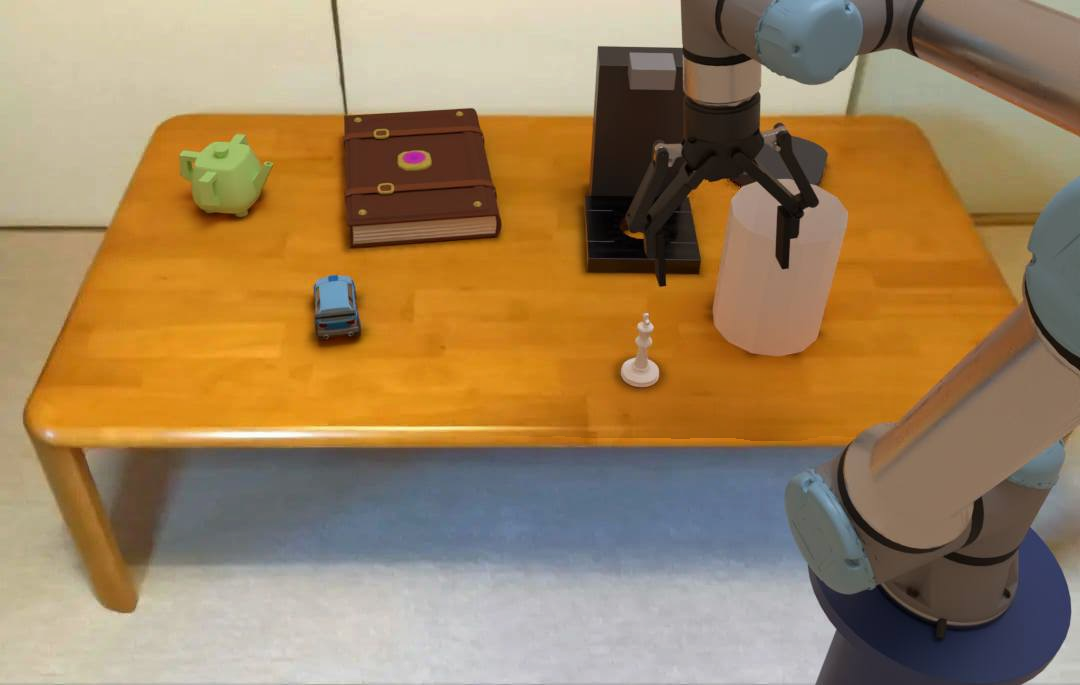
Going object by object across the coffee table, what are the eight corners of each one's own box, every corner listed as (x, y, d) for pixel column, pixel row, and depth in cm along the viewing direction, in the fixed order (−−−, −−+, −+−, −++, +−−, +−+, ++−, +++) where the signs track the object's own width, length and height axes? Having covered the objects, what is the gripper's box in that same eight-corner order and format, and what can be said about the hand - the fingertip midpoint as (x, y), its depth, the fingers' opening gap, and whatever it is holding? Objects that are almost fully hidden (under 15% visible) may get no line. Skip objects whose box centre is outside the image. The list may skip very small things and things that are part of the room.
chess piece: (653, 359, 132) (661, 299, 125) (663, 385, 128) (672, 325, 122) (616, 363, 131) (622, 303, 125) (625, 389, 128) (631, 329, 121)
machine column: (684, 229, 154) (706, 70, 137) (591, 227, 154) (601, 68, 136) (676, 189, 162) (696, 34, 145) (589, 187, 162) (598, 32, 145)
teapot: (210, 233, 151) (197, 176, 144) (181, 197, 158) (167, 141, 151) (284, 208, 156) (274, 152, 150) (253, 174, 163) (242, 119, 156)
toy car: (356, 288, 142) (352, 255, 138) (363, 345, 133) (358, 311, 129) (313, 293, 141) (308, 260, 137) (317, 350, 132) (311, 317, 128)
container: (693, 302, 141) (710, 192, 129) (780, 277, 146) (804, 169, 134) (750, 367, 131) (774, 255, 119) (841, 338, 136) (873, 228, 124)
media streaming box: (742, 140, 174) (745, 124, 172) (828, 157, 170) (832, 142, 168) (722, 183, 164) (725, 167, 162) (813, 203, 160) (817, 187, 158)
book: (348, 248, 149) (345, 220, 145) (345, 138, 172) (342, 111, 168) (503, 237, 152) (502, 209, 148) (479, 129, 175) (478, 103, 171)
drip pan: (698, 274, 146) (701, 260, 144) (587, 272, 146) (588, 258, 144) (687, 210, 158) (688, 196, 156) (583, 208, 157) (584, 195, 156)
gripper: (835, 59, 103) (821, 237, 116) (590, 93, 103) (605, 268, 116) (860, 89, 97) (843, 273, 110) (601, 126, 97) (614, 306, 110)
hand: (721, 271), depth 113 cm, fingers open, 13 cm apart
